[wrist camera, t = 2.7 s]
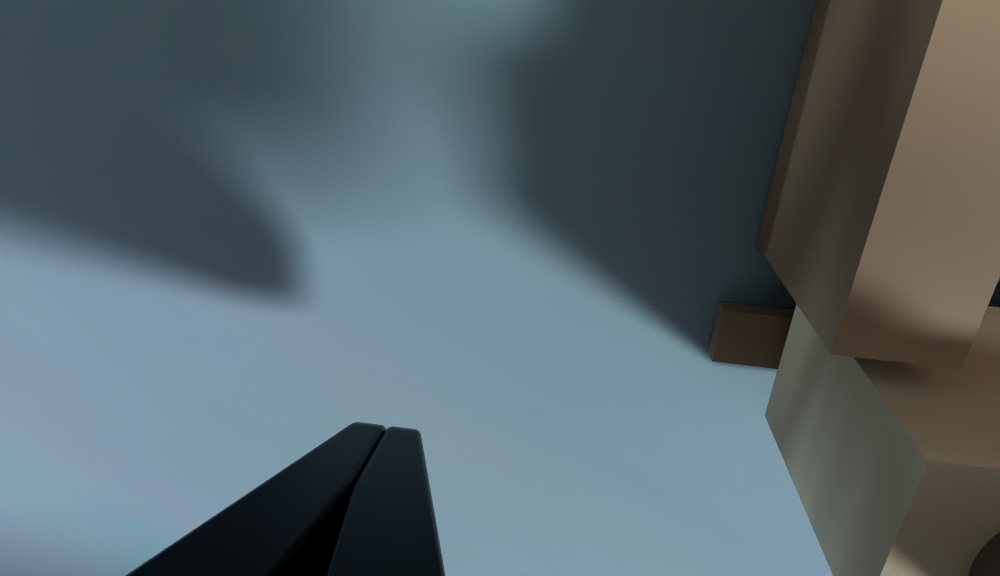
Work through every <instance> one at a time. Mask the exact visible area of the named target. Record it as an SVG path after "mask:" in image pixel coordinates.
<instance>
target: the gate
mask: <svg viewBox="0 0 1000 576" xmlns="http://www.w3.org/2000/svg"><path fill="white" fill-rule="evenodd" d="M765 417H766V419H767V421H768V424H769V426H770V429H771V431H772V433H773V436H774V438H775V440H776V443H777V445H778V447H779V450H780V452H781V454H782V457H783V459H784V461H785V464H786V466H787V468H788V471H789V473H790V475H791V478H792V480H793V482H794V485H795V487H796V489H797V492H798V494H799V496H800V499H801V501H802V504H803V506H804V508H805V511H806V513H807V515H808V518H809V520H810V522H811V525H812V527H813V529H814V532H815V534H816V536H817V539H818V541H819V543H820V546H821V548H822V550H823V553H824V555H825V557H826V560H827V562H828V564H829V567H830V569H831V571H832V574H833V576H1000V307H992V306H988V307H987V309H986V312H985V314H984V316H983V319H982V321H981V324H980V326H979V328H978V331H977V333H976V336H975V338H974V341H973V343H972V345H971V348H970V350H969V353H968V355H967V357H966V360H965V362H964V365H963V367H962V369H955V368H947V367H938V366H929V365H920V364H911V363H902V362H894V361H885V360H876V359H867V358H858V357H850V356H841V355H832V354H830V353H829V351H828V350H827V348H826V347H825V345H824V344H823V342H822V341H821V339H820V338H819V337H818V335H817V334H816V332H815V331H814V329H813V328H812V326H811V325H810V323H809V322H808V320H807V319H806V317H805V316H804V314H803V313H802V311H801V310H800V308H799V307H798V305H797V304H796V307H795V311H794V314H793V318H792V321H791V325H790V328H789V332H788V336H787V339H786V343H785V346H784V350H783V353H782V357H781V360H780V364H779V367H778V371H777V374H776V378H775V381H774V385H773V389H772V392H771V396H770V399H769V403H768V406H767V410H766V413H765Z"/></svg>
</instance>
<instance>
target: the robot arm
mask: <svg viewBox="0 0 1000 576" xmlns="http://www.w3.org/2000/svg"><path fill="white" fill-rule="evenodd" d="M126 576H445V571H444V565H443V559H442V554H441V548H440V542H439V537H438V531H437V525H436V519H435V514H434V508H433V502H432V496H431V491H430V485H429V479H428V473H427V468H426V462H425V456H424V450H423V445H422V439H421V434H420V432H419V431H418V430H416V429H409V428H401V427H389V428H387V430H386V428H385V427H384V426H383V425H377V424H369V423H361V422H355V423H353V424H351V425H349V426H347V427H346V428H344V429H343V430H342V431H340V432H339V433H337V434H336V435H334V436H333V437H331V438H330V439H328V440H327V441H325V442H324V443H322V444H321V445H319V446H318V447H316V448H315V449H313V450H312V451H310V452H309V453H307V454H306V455H304V456H303V457H301V458H300V459H298V460H297V461H295V462H294V463H292V464H291V465H289V466H288V467H286V468H285V469H283V470H282V471H280V472H279V473H277V474H276V475H275V476H273V477H272V478H270V479H269V480H267V481H266V482H264V483H263V484H261V485H260V486H258V487H257V488H255V489H254V490H252V491H251V492H249V493H248V494H246V495H245V496H243V497H242V498H240V499H239V500H237V501H236V502H234V503H233V504H231V505H230V506H228V507H227V508H225V509H224V510H222V511H221V512H219V513H218V514H216V515H215V516H213V517H212V518H211V519H209V520H208V521H206V522H205V523H203V524H202V525H200V526H199V527H197V528H196V529H194V530H193V531H191V532H190V533H188V534H187V535H185V536H184V537H182V538H181V539H179V540H178V541H176V542H175V543H173V544H172V545H170V546H169V547H167V548H166V549H164V550H163V551H161V552H160V553H158V554H157V555H155V556H154V557H152V558H151V559H149V560H148V561H147V562H145V563H144V564H142V565H141V566H139V567H138V568H136V569H135V570H133V571H132V572H130V573H129V574H127V575H126Z"/></svg>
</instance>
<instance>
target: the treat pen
mask: <svg viewBox="0 0 1000 576" xmlns="http://www.w3.org/2000/svg"><path fill="white" fill-rule="evenodd" d="M756 244H757V246H758V247H759V249H760V250H761V252H762V253H763V255H764V256H765V258H766V259H767V261H768V262H769V264H770V265H771V267H772V268H773V270H774V271H775V273H776V274H777V276H778V277H779V278H780V280H781V281H782V283H783V284H784V286H785V287H786V289H787V290H788V292H789V293H790V295H791V296H792V298H793V299H794V301H795V302H796V304H797V305H798V307H799V308H800V310H801V311H802V313H803V314H804V316H805V317H806V319H807V320H808V322H809V323H810V325H811V326H812V328H813V329H814V331H815V332H816V334H817V335H818V337H819V338H820V339H821V341H822V342H823V344H824V345H825V347H826V348H827V350H828V351H829V353H830V354H832V355H841V356H850V357H858V358H867V359H876V360H885V361H894V362H902V363H911V364H920V365H929V366H938V367H947V368H955V369H962V367H963V365H964V362H965V360H966V357H967V355H968V353H969V350H970V348H971V345H972V343H973V341H974V338H975V336H976V333H977V331H978V328H979V326H980V324H981V321H982V319H983V316H984V314H985V312H986V309H987V307H988V304H989V302H990V299H991V297H992V295H993V292H994V290H995V287H996V285H997V283H998V282H1000V0H816V2H815V6H814V10H813V14H812V18H811V22H810V26H809V30H808V34H807V39H806V43H805V47H804V51H803V55H802V59H801V63H800V67H799V71H798V75H797V79H796V83H795V87H794V92H793V96H792V100H791V104H790V108H789V112H788V116H787V120H786V124H785V128H784V132H783V136H782V140H781V145H780V149H779V153H778V157H777V161H776V165H775V169H774V173H773V177H772V181H771V185H770V189H769V193H768V198H767V202H766V206H765V210H764V214H763V218H762V222H761V226H760V230H759V234H758V238H757V242H756ZM794 311H795V309H786V308H777V307H768V306H758V305H749V304H740V303H731V302H722V301H720V303H719V307H718V311H717V316H716V320H715V324H714V329H713V333H712V337H711V342H710V346H709V350H708V351H709V354H710V357H711V359H712V361H715V362H724V363H733V364H741V365H750V366H759V367H767V368H776V369H778V367H779V364H780V360H781V357H782V353H783V350H784V346H785V343H786V339H787V336H788V332H789V328H790V325H791V321H792V318H793V314H794Z"/></svg>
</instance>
